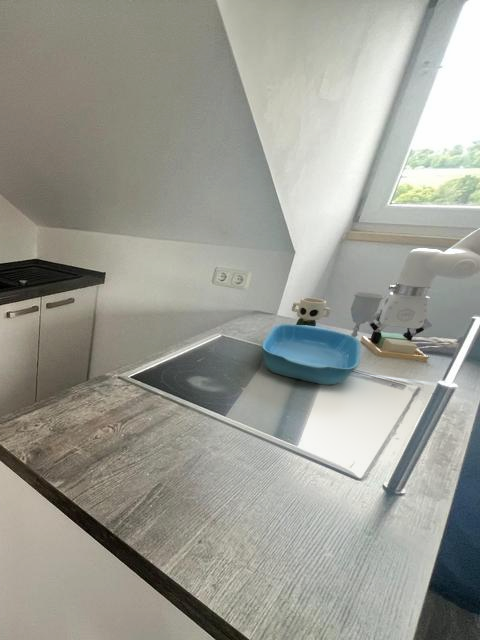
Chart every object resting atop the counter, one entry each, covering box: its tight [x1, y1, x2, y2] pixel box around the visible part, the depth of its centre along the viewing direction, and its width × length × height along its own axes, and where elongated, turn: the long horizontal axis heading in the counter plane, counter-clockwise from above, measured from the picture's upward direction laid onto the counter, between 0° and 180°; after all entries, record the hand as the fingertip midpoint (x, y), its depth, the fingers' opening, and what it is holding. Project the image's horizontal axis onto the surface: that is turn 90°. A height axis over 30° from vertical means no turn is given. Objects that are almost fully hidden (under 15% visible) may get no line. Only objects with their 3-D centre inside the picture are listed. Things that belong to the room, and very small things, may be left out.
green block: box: [373, 331, 407, 348], centre depth 126 cm, size 6×5×4 cm
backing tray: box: [360, 335, 430, 363], centre depth 124 cm, size 12×15×2 cm
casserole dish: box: [261, 323, 361, 386], centre depth 116 cm, size 37×22×7 cm, turn 139°
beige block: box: [381, 338, 418, 355], centre depth 121 cm, size 6×5×4 cm
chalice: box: [350, 291, 385, 338], centre depth 125 cm, size 7×7×18 cm
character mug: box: [291, 297, 332, 327], centre depth 137 cm, size 11×7×13 cm, turn 42°
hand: (388, 343), depth 127 cm, fingers open, 6 cm apart
